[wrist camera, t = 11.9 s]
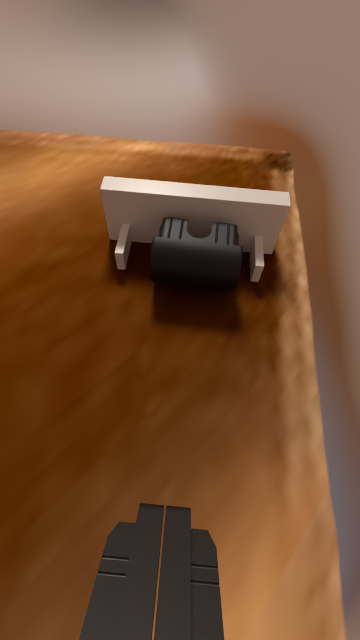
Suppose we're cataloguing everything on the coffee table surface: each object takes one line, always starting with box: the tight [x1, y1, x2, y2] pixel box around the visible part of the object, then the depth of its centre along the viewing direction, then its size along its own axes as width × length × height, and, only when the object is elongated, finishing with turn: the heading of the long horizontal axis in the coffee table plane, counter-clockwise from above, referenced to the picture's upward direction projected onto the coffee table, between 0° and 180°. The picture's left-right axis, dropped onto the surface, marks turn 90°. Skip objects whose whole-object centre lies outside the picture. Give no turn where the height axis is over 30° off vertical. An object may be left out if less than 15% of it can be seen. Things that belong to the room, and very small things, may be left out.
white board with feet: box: [100, 176, 290, 282], centre depth 42 cm, size 22×7×8 cm, turn 85°
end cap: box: [150, 217, 243, 291], centre depth 40 cm, size 10×7×7 cm
